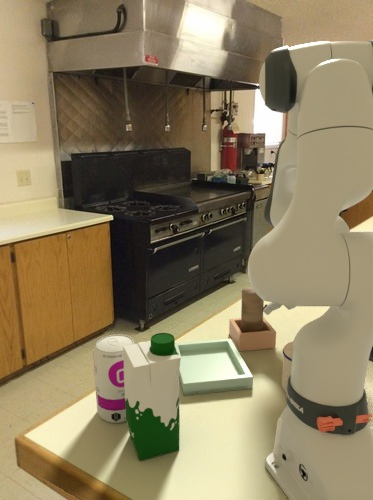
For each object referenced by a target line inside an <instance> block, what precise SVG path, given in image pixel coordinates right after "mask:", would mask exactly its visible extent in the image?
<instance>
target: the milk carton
mask: <svg viewBox="0 0 373 500" xmlns="http://www.w3.org/2000/svg"><path fill="white" fill-rule="evenodd" d="M175 343H176V342H175V336H174V335H173V334H171V333H167V332H158V333H155V334H152V336H151V337H150V340H148V341H140V342H137V343H135V344H133V345H128V346H123V350H124V387H125V406H126V421H125V422H126V425H127V429H128V432H129V433H128V434H129V436H130V439H131V441H132V444H133V447H134V450H135V452H136V455H137V457H138V460H139V462H142V461H145V460H149V459H152V458H157V457H159V456H163V455H167V454H170V453H173V452H174V453H175V452H177V451H180V426H181V425H180V380H179V369H180V360H181V358H180V357H179V354H178V353H177V351H176V348H175Z"/></svg>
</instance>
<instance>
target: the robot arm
mask: <svg viewBox="0 0 373 500" xmlns="http://www.w3.org/2000/svg"><path fill="white" fill-rule="evenodd" d="M258 86H259V92H260V95H261V98H262V99H263V101H264V105H265V106H266V107H267V108H268V109H270V110H271V111H272V112H276V113H280V114H281V113H282V114H287V113H288V117H287V118H288V119H287V131H286V132H287V133H286V136H285V138H284V139H283V140H282V141H281V142H280V144H279V145H278V148H277V151H276V154H275V160H274V166H273V172H272V178H271V185H270V190H269V195H268V197H267V199H266V201H265V202H266V203H265V206H264V210H263V217H264V221H265V222H266V224H267V225H268V226H270V227H272V229H271V230H270V231H269V232H267V234H265V235H264V236H262V237H261V238H260V239H259V240H258V241H257V242H256V243H255V245H254V247H253V248H252V250H251V252H250V254H249V257H248V262H247V275H248V281H249V283H250V286H251V287H253V289H254V291H255V292H256V294H257V295H258V296H259V297H260V298H261V299H262V300H264V302H270V303H268V304H267V303H266V304H265V305H264V306H263V308H262V310H263V314H266V316H269V315H270V314H272V312H274V311H276V310H278V309H280V308H281V307H282V306H284V307H285V308H286V309H287V310H293V309H294V308H296V307H329V308H328V309H327V310H326V311H325V312H324V313H323V314H322V315H321V316H319V317H317V318H316V319H315V318H314V320H312V321H309V322H307V323H306V324H304V325H303V326H302V327H301V328H300V329H299V330H298V332H297V333H296V335H295V336H294V339H293V340H292V342H293V349H292V365H291V375H290V376H289V378H288V384H287V388H286V392H285V393H286V397H285V399H286V405H285V408H284V409H283V411H282V413H281V414H280V416H279V417H278V419H277V423H276V429H275V435H274V442H273V443H274V444H273V448H272V449H273V451H271V452H270V453H269V454H268V455H267V456H266V458H265V461H264V462H265V463H264V466H265V468H266V470H267V471H268V472H269V474H270V475H271V476H272V478H273V479H274V480H275V482H276V484H277V485H278V486H279V487H280V488H281V490H282V491H283V493H284V494H285V496H286V497H287V498H288V500H373V427H372V426H371V424H370V423H369V422H372V421H373V420H372V419H370V418H372V417H373V414H369V408H368V407H369V402H368V398H367V392H366V389H365V385H366V384H365V383H366V376H367V370H368V366H369V365H368V364H369V360H370V356H371V351H372V348H373V231H351V230H350V226H349V225H348V223H347V222H346V221H345V219H344V218H343V217H341V216H340V213H341V212H343V211H344V210H347V209H349V208H351V207H353V206H356V204H358V203H360V202H362V201H363V200H365V199H366V198H368V197H369V195H370V194H371V193H372V191H373V39H369V40H368V41H361V40H360V41H355V40H343V41H342V40H341V41H339V40H338V41H329V40H324V41H316V42H310V43H309V42H308V43H304V44H298V45H294V46H291V47H289V46H288V45H284V46H281V47H278V48H274V49H273V50H270V51H269V52H268V54H267V55H266V56H265V58H264V62H263V63H262V66H261V69H260V72H259V79H258Z"/></svg>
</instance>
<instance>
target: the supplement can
mask: <svg viewBox="0 0 373 500" xmlns="http://www.w3.org/2000/svg"><path fill="white" fill-rule="evenodd" d="M133 344H136V343H135V342H134V339H133V338H132V337H131V336H129V335H126V334H118V333H116V334H110V335H106V336H103V337H101V338H100V339H98V340H97V341H96V343H95V347H94V349H93V351H92V353H93V355H92V356H93V367H94V369H93V370H94V371H93V372H94V382H95V383H94V384H95V385H94V386H95V395H96V410H97V415H98V416H99V417H100V418H101V419H102V420H104V421H106V422H107V423H112V424H118V423H119V424H120V423H124V422H127V421H126V406H125V387H124V350H123V346H128V345H133Z"/></svg>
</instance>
